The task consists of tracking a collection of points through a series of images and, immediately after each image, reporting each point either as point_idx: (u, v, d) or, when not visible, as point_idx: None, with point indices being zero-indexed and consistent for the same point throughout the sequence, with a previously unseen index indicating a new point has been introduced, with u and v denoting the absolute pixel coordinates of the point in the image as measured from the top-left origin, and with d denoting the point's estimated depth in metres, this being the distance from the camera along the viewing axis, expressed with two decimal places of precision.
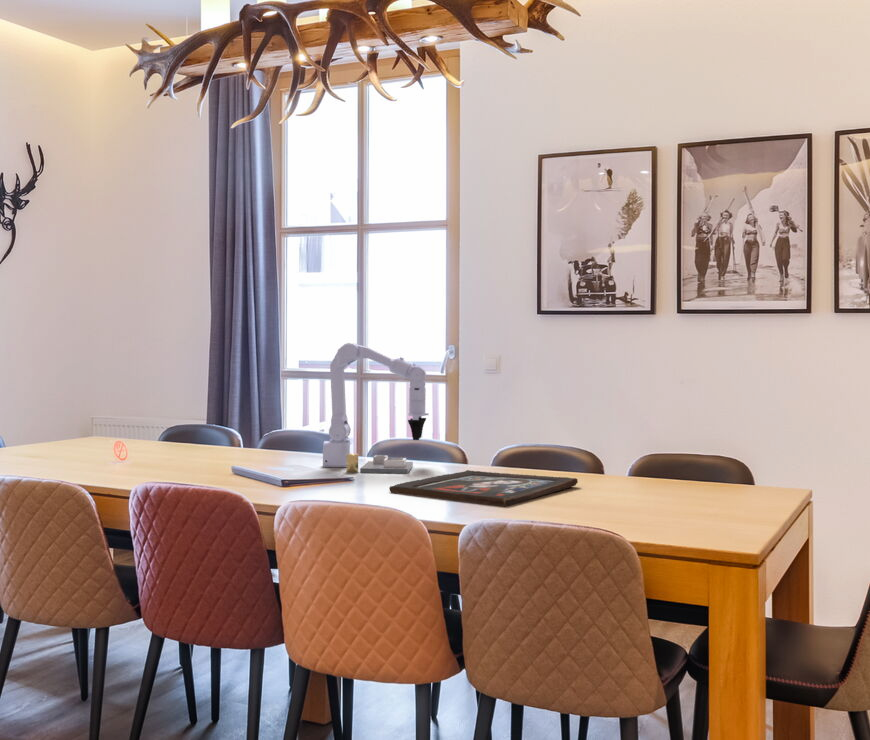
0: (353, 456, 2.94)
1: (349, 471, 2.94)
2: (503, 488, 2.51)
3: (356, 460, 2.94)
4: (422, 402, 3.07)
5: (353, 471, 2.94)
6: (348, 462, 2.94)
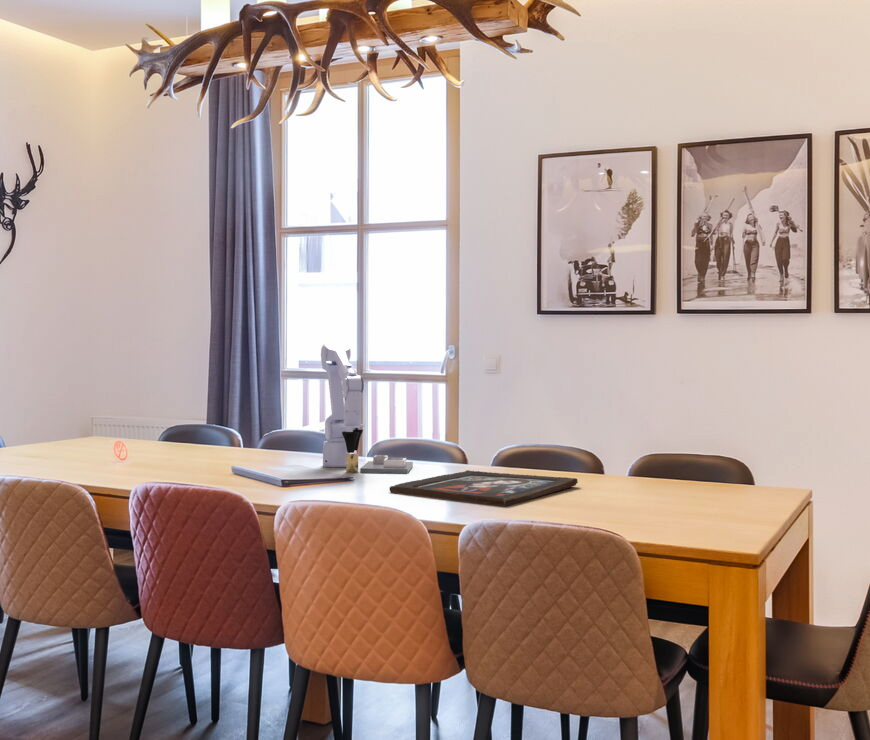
0: (353, 456, 2.94)
1: (349, 471, 2.94)
2: (503, 488, 2.51)
3: (356, 460, 2.94)
4: (357, 413, 2.93)
5: (353, 471, 2.94)
6: (348, 462, 2.94)
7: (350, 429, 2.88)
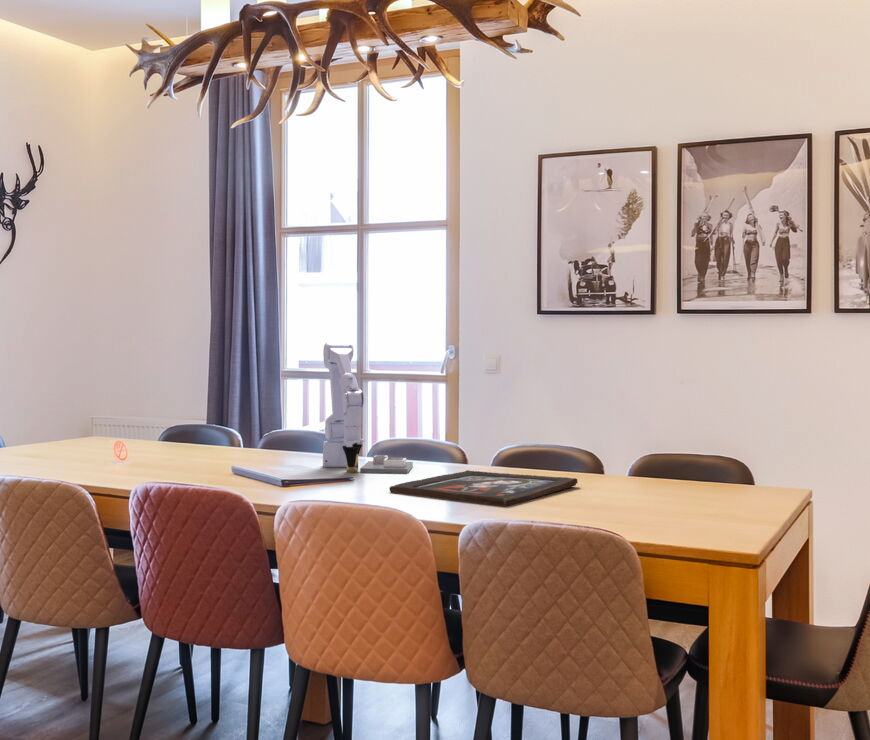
0: None
1: (349, 471, 2.94)
2: (503, 488, 2.51)
3: (356, 460, 2.94)
4: (357, 428, 2.93)
5: (353, 471, 2.94)
6: None
7: (350, 444, 2.88)
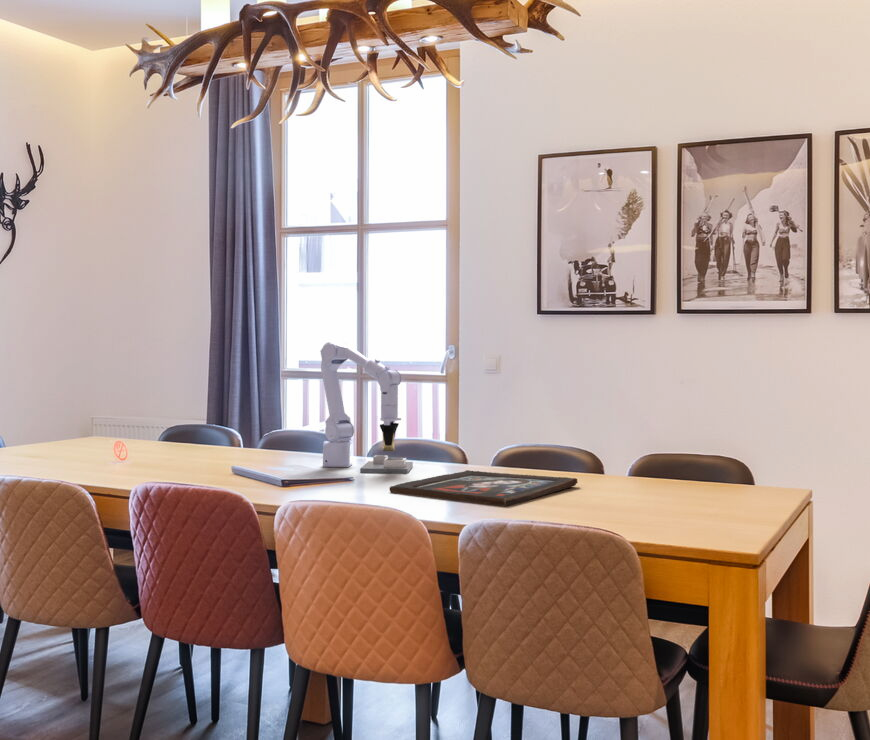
0: None
1: (386, 450, 2.97)
2: (503, 488, 2.51)
3: None
4: (394, 406, 2.97)
5: (390, 449, 2.97)
6: None
7: (387, 422, 2.92)
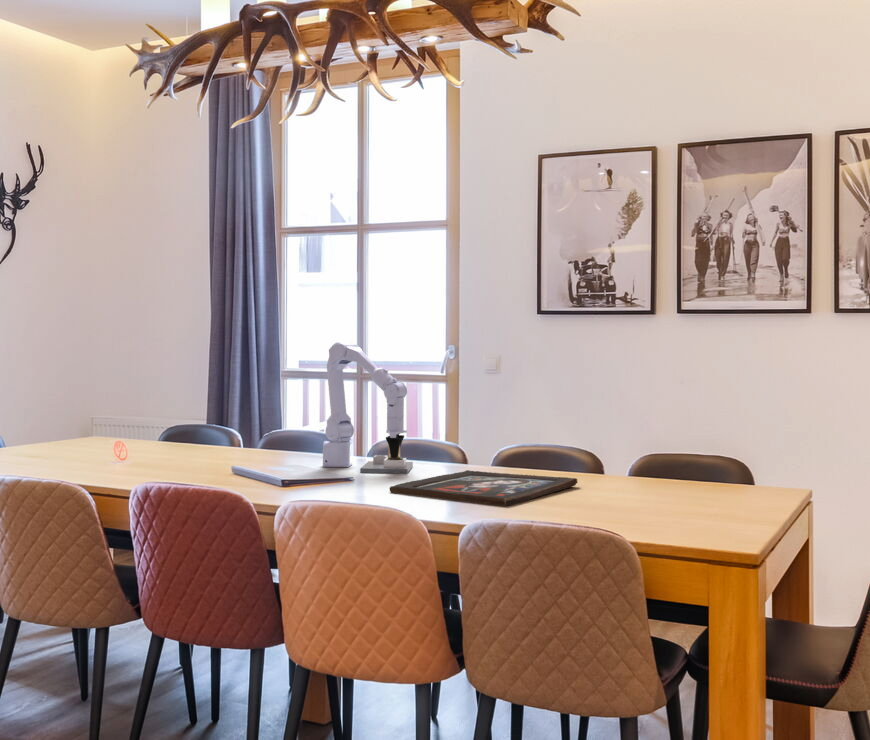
0: None
1: None
2: (503, 488, 2.51)
3: None
4: (400, 419, 2.97)
5: None
6: None
7: (394, 435, 2.92)
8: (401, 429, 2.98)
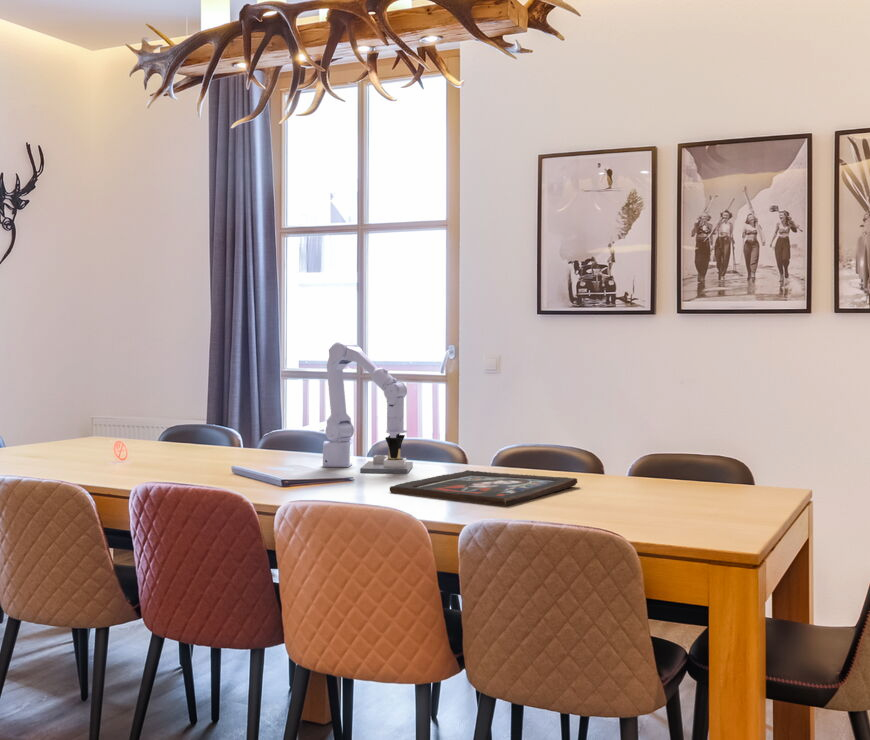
0: None
1: None
2: (503, 488, 2.51)
3: (399, 454, 2.99)
4: (400, 419, 2.97)
5: None
6: None
7: (394, 435, 2.92)
8: (401, 429, 2.98)
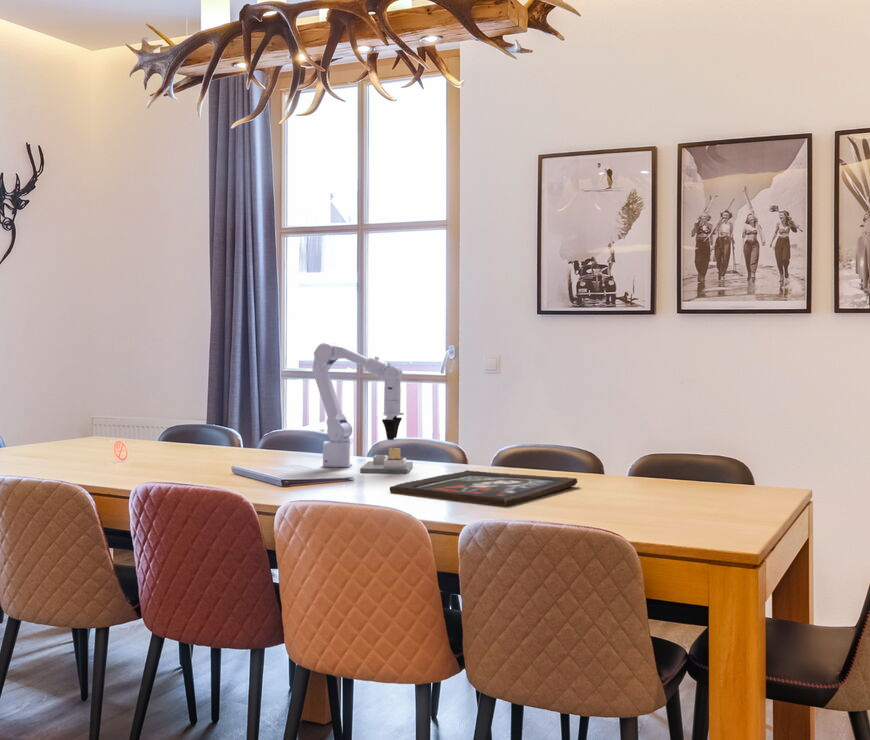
0: (396, 450, 2.98)
1: None
2: (503, 488, 2.51)
3: (399, 454, 2.99)
4: (397, 401, 3.04)
5: None
6: (391, 456, 2.98)
7: (390, 417, 2.99)
8: (398, 411, 3.04)
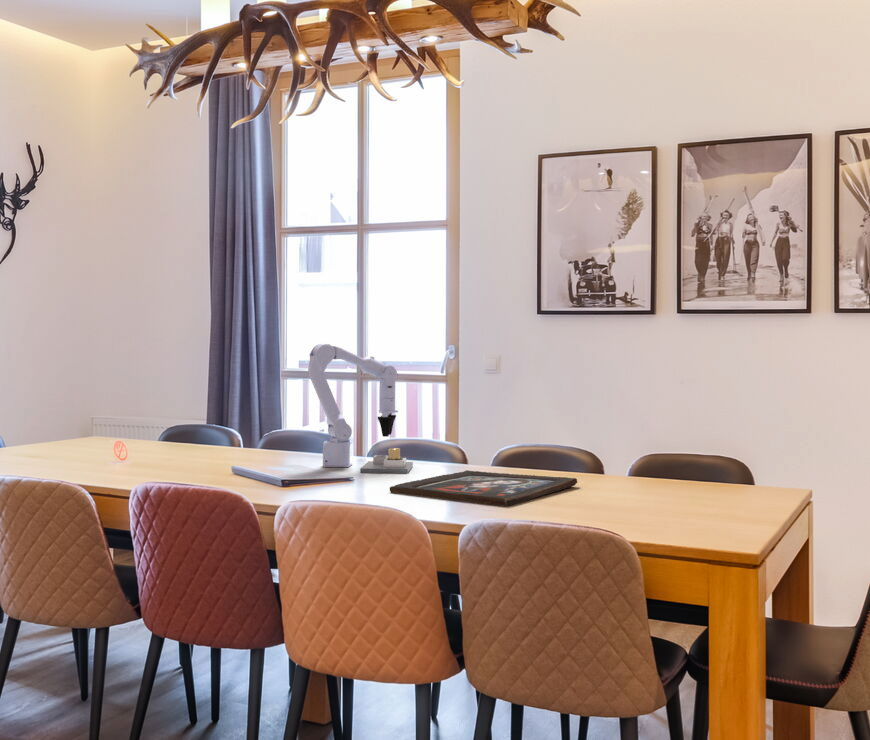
0: (395, 450, 2.98)
1: None
2: (503, 488, 2.51)
3: (398, 454, 2.98)
4: (392, 399, 3.16)
5: None
6: (390, 456, 2.98)
7: (385, 414, 3.10)
8: (392, 409, 3.16)
